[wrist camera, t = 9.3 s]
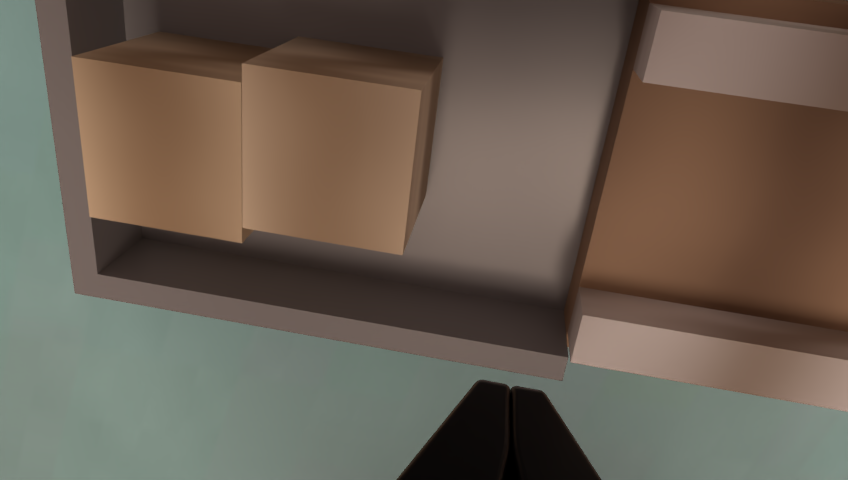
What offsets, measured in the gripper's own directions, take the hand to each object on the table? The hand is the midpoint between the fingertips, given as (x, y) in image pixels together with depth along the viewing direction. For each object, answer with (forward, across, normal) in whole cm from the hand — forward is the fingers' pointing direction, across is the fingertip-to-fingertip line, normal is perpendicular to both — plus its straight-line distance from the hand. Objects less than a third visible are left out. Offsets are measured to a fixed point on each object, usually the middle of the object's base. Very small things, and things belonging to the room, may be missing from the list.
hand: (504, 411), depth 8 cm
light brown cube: (+11, +8, 0) cm, 14 cm away
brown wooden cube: (+11, +4, 0) cm, 12 cm away
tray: (+12, +5, 0) cm, 13 cm away
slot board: (+12, -8, 0) cm, 14 cm away
